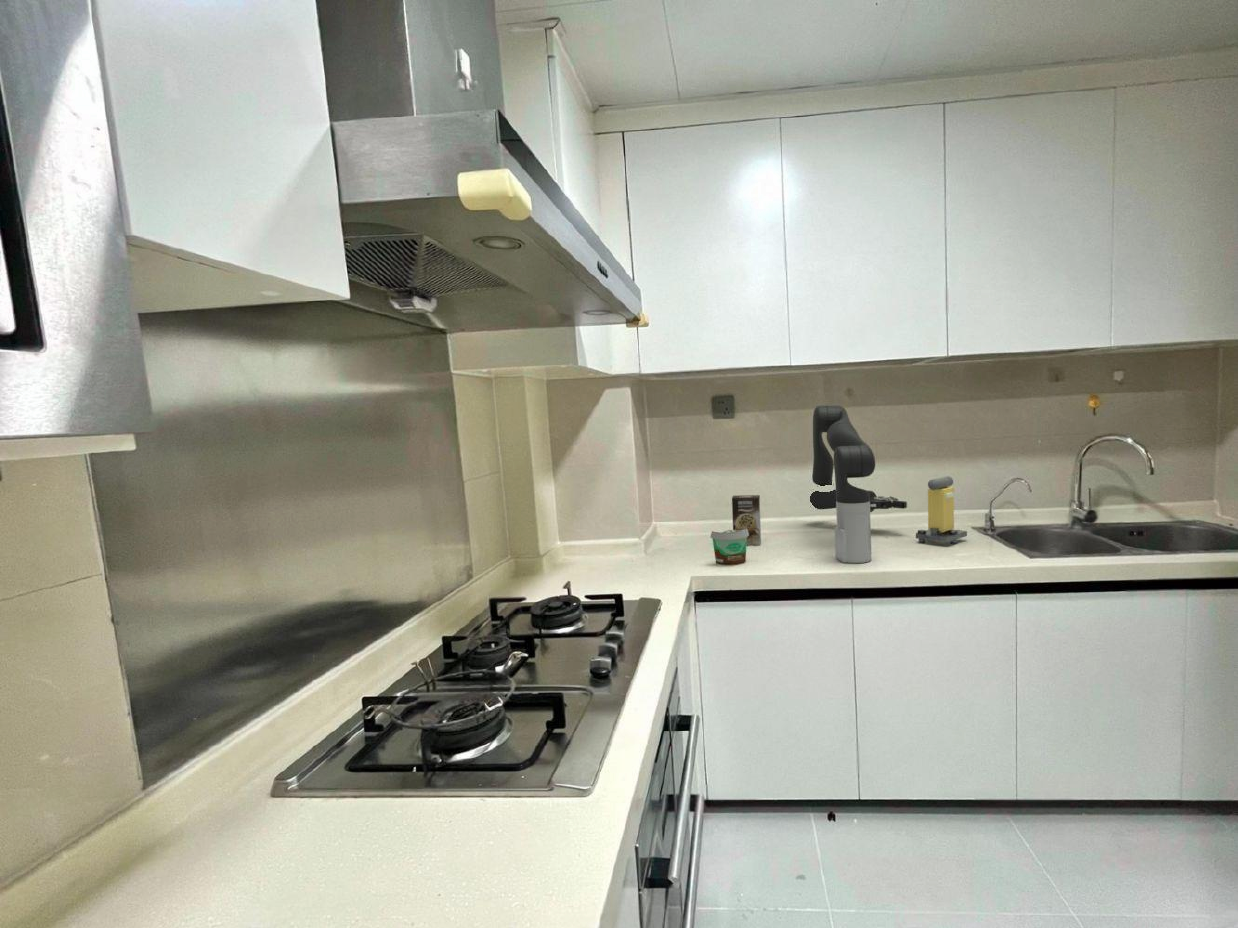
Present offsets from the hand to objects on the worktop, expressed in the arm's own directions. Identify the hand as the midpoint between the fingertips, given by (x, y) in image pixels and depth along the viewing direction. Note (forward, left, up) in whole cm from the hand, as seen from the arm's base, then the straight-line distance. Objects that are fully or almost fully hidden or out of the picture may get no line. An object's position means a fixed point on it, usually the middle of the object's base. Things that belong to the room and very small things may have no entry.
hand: (905, 505), depth 217 cm
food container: (-60, -20, -11) cm, 64 cm away
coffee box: (-51, +5, -11) cm, 53 cm away
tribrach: (+7, -10, -11) cm, 16 cm away
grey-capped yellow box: (+7, -10, -7) cm, 13 cm away
